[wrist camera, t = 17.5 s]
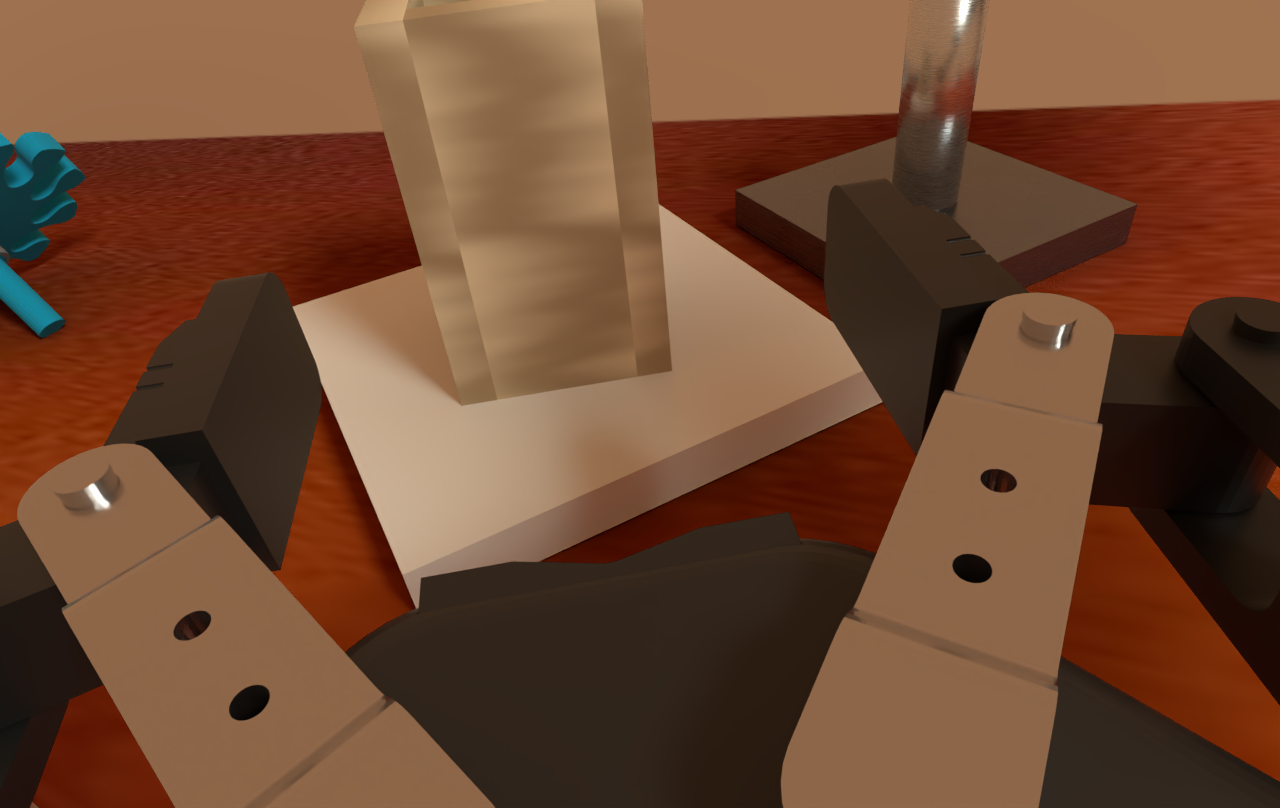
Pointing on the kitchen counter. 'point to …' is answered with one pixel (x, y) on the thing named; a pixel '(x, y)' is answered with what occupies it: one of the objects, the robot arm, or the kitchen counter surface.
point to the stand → (945, 169)
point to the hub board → (571, 412)
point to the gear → (32, 218)
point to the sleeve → (527, 184)
